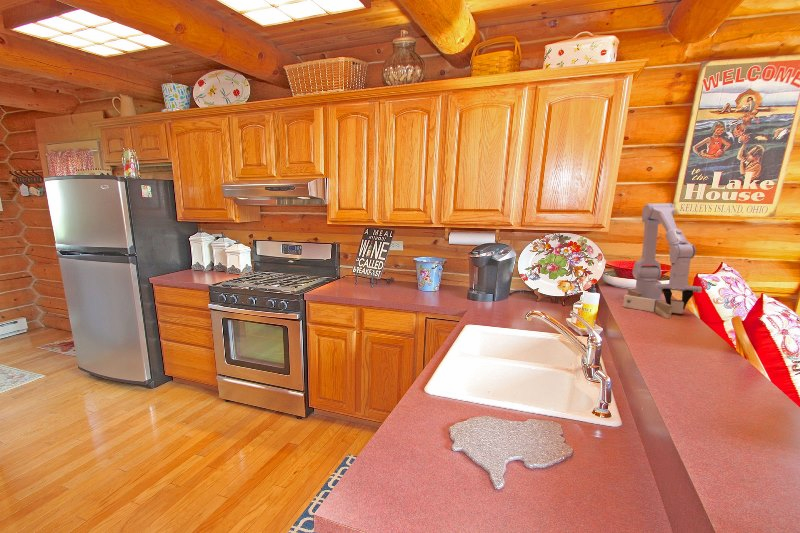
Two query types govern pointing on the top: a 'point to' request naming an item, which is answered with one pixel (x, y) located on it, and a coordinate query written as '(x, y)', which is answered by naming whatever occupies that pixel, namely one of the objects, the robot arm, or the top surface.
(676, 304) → the doorstop block
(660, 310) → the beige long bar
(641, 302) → the door
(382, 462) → the top surface
